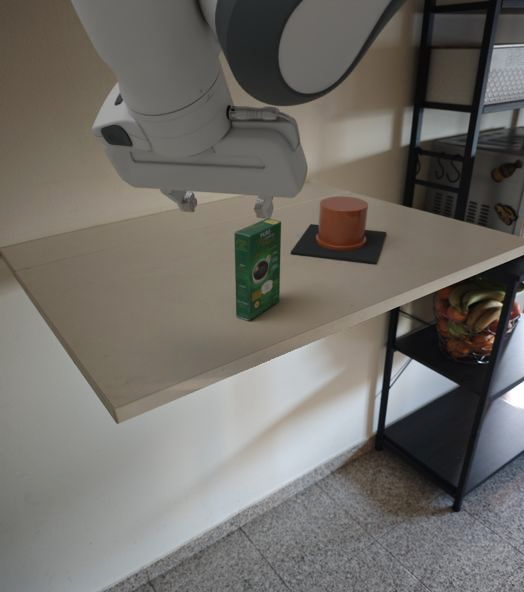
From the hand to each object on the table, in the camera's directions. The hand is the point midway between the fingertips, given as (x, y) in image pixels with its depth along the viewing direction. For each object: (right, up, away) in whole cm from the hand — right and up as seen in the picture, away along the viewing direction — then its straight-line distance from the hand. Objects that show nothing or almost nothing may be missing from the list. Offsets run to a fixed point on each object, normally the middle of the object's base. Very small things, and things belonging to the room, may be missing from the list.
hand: (227, 210), depth 57 cm
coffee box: (+3, -10, +20) cm, 22 cm away
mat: (+19, +5, +42) cm, 46 cm away
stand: (+19, +5, +41) cm, 46 cm away
